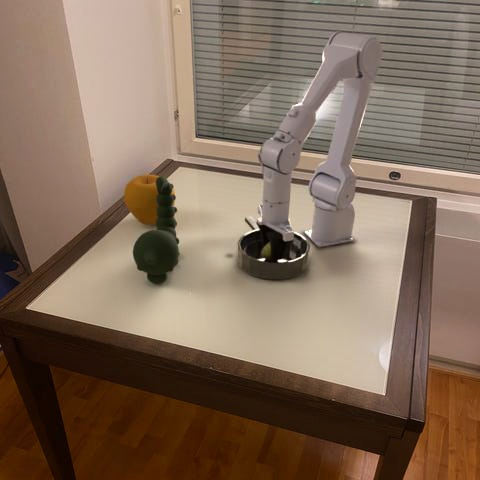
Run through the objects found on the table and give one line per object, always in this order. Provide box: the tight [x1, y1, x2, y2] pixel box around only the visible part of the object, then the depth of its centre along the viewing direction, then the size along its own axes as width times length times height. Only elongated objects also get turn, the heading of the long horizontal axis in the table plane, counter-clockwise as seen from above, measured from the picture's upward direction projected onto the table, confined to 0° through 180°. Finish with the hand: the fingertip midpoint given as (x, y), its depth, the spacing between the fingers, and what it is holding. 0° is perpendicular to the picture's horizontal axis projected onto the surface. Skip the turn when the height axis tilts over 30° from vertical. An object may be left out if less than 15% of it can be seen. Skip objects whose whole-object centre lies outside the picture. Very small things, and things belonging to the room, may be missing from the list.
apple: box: [123, 174, 176, 226], centre depth 127 cm, size 13×13×11 cm
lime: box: [261, 242, 273, 261], centre depth 112 cm, size 4×5×5 cm
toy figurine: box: [132, 175, 181, 284], centre depth 107 cm, size 9×19×25 cm
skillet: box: [236, 229, 311, 280], centre depth 113 cm, size 16×16×4 cm
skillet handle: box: [244, 215, 261, 235], centre depth 120 cm, size 2×8×1 cm, turn 21°
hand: (273, 254), depth 113 cm, fingers closed on lime, 4 cm apart
